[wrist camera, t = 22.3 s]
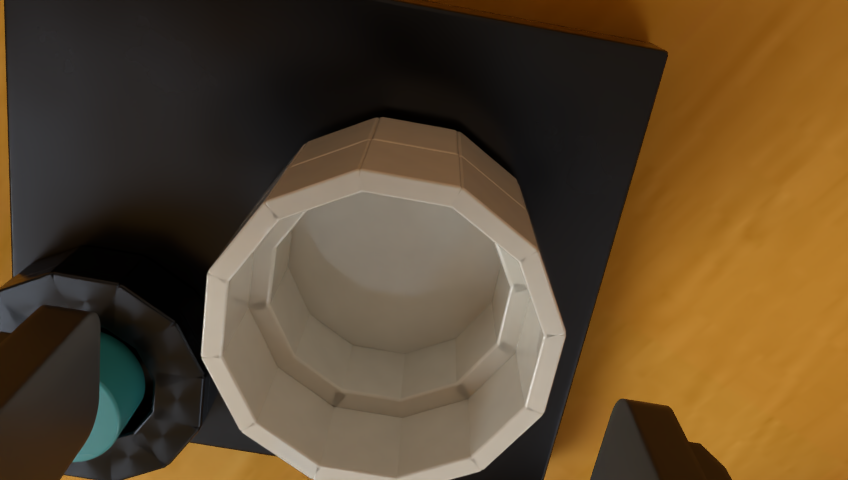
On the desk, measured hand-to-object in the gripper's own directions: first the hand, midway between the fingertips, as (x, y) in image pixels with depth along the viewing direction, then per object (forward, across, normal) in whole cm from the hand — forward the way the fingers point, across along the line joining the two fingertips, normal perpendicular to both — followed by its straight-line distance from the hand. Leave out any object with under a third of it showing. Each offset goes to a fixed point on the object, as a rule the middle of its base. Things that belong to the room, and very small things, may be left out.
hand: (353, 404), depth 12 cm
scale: (+8, +2, 0) cm, 8 cm away
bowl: (+6, 0, 0) cm, 6 cm away
